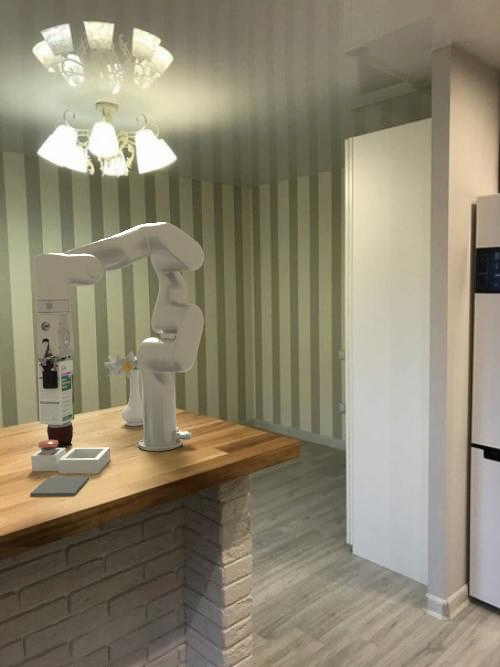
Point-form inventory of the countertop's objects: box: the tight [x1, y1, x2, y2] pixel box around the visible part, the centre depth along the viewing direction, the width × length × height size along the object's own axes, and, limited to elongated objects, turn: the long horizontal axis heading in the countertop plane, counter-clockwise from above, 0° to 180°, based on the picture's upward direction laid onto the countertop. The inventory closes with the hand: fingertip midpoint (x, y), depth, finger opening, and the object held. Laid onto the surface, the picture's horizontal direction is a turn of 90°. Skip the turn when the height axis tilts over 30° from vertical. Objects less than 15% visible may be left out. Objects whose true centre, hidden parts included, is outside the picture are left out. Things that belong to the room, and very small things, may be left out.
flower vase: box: [103, 351, 143, 427], centre depth 177 cm, size 13×18×25 cm
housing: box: [30, 446, 111, 475], centre depth 136 cm, size 18×10×4 cm, turn 88°
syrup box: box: [37, 358, 75, 425], centre depth 121 cm, size 6×6×14 cm
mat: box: [29, 476, 90, 497], centre depth 123 cm, size 10×10×1 cm
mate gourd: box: [46, 420, 74, 448], centre depth 154 cm, size 8×8×15 cm
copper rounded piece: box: [38, 439, 58, 455], centre depth 136 cm, size 5×5×6 cm
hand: (56, 385), depth 121 cm, fingers closed on syrup box, 6 cm apart
